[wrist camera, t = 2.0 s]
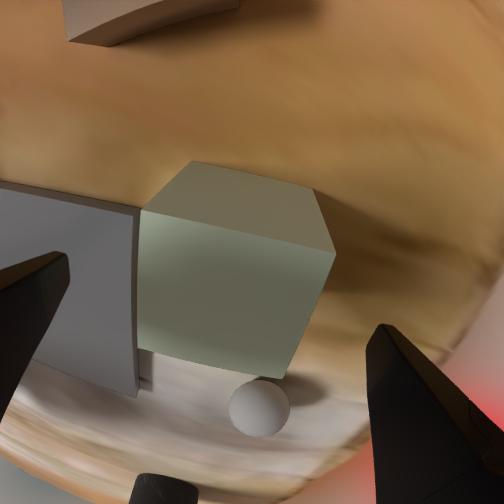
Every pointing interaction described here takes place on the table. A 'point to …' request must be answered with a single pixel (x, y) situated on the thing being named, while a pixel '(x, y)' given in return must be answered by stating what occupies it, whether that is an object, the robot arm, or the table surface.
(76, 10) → the walnut block
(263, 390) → the grey ball
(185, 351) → the sage block
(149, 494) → the travel mug
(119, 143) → the table surface
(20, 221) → the plate
